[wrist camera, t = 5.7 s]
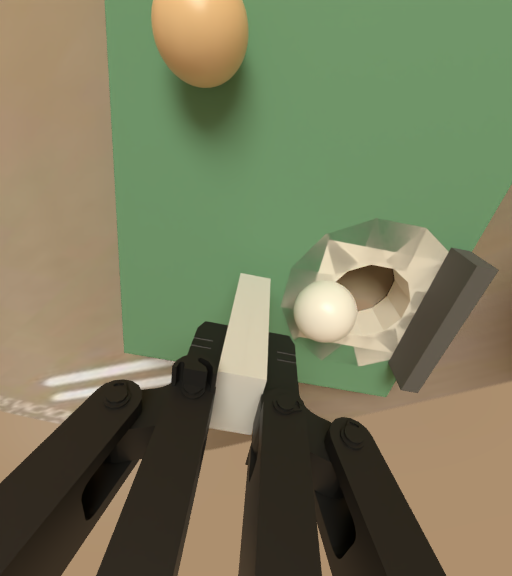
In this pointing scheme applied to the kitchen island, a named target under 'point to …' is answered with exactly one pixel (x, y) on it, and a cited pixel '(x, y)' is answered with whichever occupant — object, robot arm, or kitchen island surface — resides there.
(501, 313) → the kitchen island surface
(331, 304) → the ball
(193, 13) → the brown egg
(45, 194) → the kitchen island surface
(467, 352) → the kitchen island surface
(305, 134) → the putting mat
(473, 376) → the kitchen island surface
